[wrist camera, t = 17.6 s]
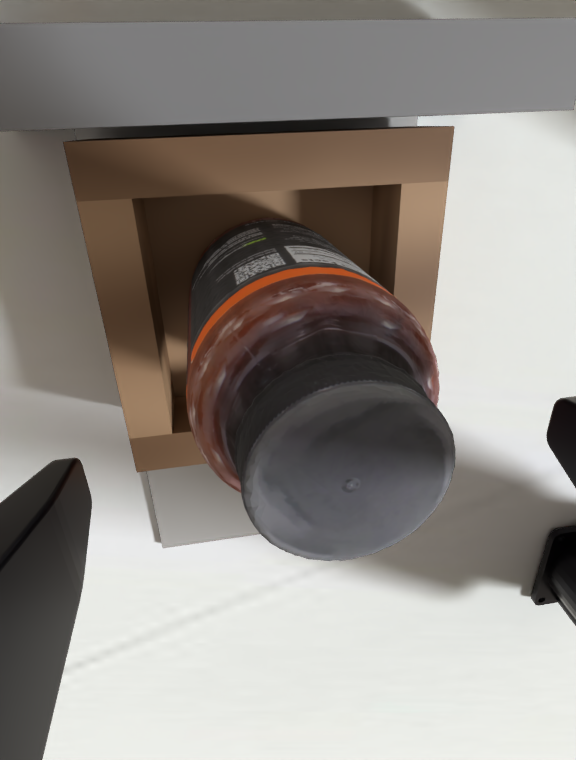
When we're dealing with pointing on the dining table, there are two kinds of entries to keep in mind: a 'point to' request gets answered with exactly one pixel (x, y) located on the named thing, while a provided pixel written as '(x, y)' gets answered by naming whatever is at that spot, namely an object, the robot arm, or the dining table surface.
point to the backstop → (270, 115)
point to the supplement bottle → (313, 393)
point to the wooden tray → (230, 208)
